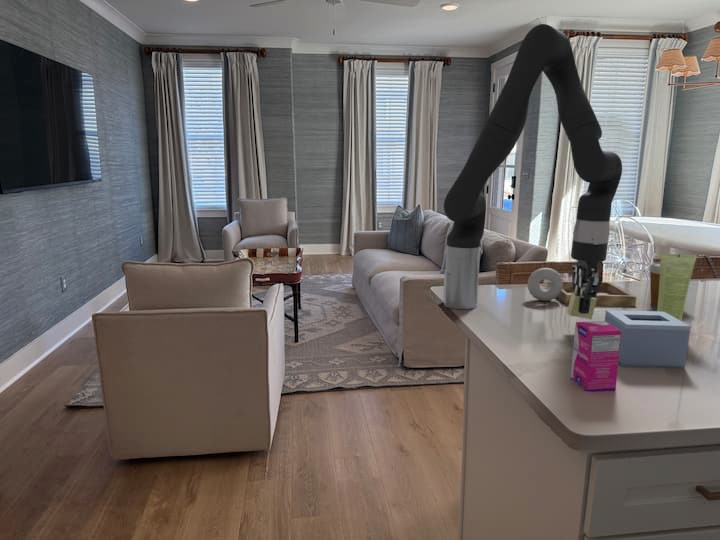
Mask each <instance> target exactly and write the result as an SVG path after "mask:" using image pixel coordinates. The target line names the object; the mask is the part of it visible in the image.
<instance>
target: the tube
mask: <svg viewBox="0 0 720 540" xmlns="http://www.w3.org/2000/svg"><path fill="white" fill-rule="evenodd" d="M696 261H697V254H683V253H682V254H680V253H679V254H678V253H666V252H660V253H659V263H660V283H659V297H658V307H656V309H657V310H656V311H659V312H666V313H667V314H669V315H671V316H673V317H675V318H677V319H678V320H680V321H682V320H683V314H684V310H685V304H686V301H687V295H688V292H689V291H688V290H689V286H690V283H691V279H692V274H693V271H694V267H695V265H696V264H695V263H696Z"/></svg>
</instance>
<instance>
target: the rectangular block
mask: <svg viewBox="0 0 720 540" xmlns="http://www.w3.org/2000/svg"><path fill="white" fill-rule="evenodd" d="M571 294H572V295H571V299H570V303H569V305H568V308H567V311H566V313H567V314H568V315H569V316H570V317H577V318H581V319H586V320H587V319H588V320H592V319H593V315H594V311H595V308H596V306H597V305H596V301H597V299H596V298H591V300H590V308H589V313H588V314H582V313H579V304H580V298H581V297H580V294H576V293H575V292H571Z"/></svg>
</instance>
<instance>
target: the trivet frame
mask: <svg viewBox="0 0 720 540" xmlns="http://www.w3.org/2000/svg"><path fill="white" fill-rule="evenodd" d="M546 283H547V284H546V290H547V289H548V288H549V287H550V286H551V282H550V281H549V280H547V282H546ZM565 290H566V291H565ZM568 291H569V292H575V290H574V289H573V283H572V280H563V287H562V291H561V292H560V294H559V295H558V296H557V297H556V299H558V298H559V299H560V300H559V299H558V300H559V301H561V302H562V303H563V302H564V303H565V304H564V303H563V304H564V305H566V304H569V303H570V299H571V295H572V293H569V292H568ZM598 292H606V293H609V294H597V295H596V297H595V298H596V299H597V301H596V305H595V306H613V305H615V306H617V305H618V306H619V307H624V306H625V307H627V306H628V307H630V306H631V307H636V304H637V296H636V295H634V294H633V293H631V292H629V291H627V290H625V289H624V288H621V286H618V285H616V284H614V283H612V282H611V281H602V282H601V285H600V287H599V290H598Z"/></svg>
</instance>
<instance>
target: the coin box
mask: <svg viewBox="0 0 720 540" xmlns="http://www.w3.org/2000/svg"><path fill="white" fill-rule="evenodd" d="M604 314H605V315H604V321H605V322H607V323H609V324H611V325H612V326H614V327H616V328H618V329H619V330H621V331H622V334H621V343H620V352H619V362H618V366H620V367H621V368H623V367H624V368H625V367H626V368H654V369H655V368H660V369H661V368H663V369H685V368H686V363H687V361H686V360H687V355H688V348H689V341H690V333H691V327H692V326H691V325H689V324H687V323H686V322H684V321H682V320H681V321H680V320H678V319H677V318H675V317H673V316H671V315H669V314H667V313H666V312H659V311H657V310H656V311H653V310H652V311H651V310H618V309H616V310H612V309H605V313H604Z"/></svg>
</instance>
